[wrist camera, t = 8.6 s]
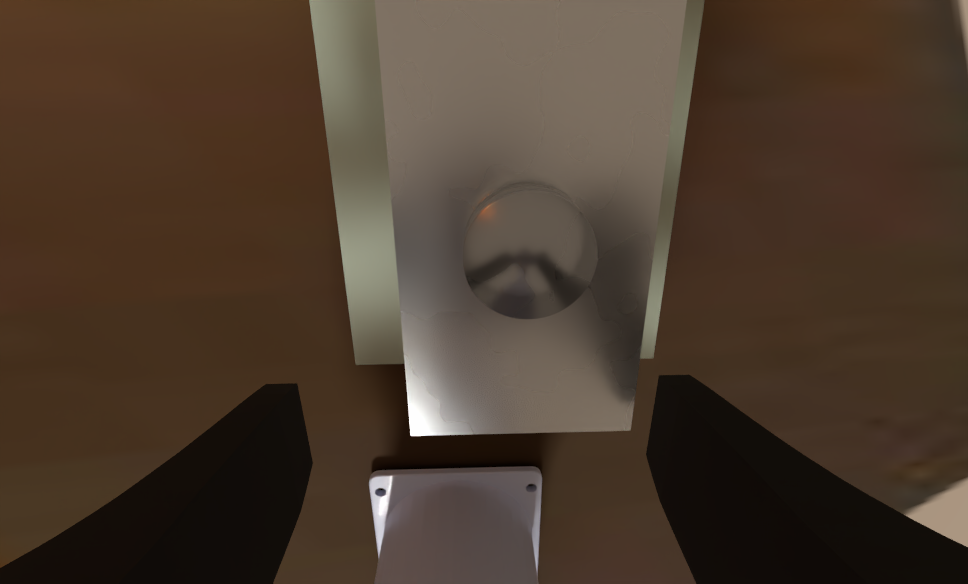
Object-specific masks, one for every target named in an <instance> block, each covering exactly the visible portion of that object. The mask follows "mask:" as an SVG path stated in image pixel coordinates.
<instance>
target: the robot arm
mask: <svg viewBox="0 0 968 584" xmlns="http://www.w3.org/2000/svg"><path fill="white" fill-rule="evenodd" d="M646 456H647V459H648V463H649V466H650V470H651V473H652V477H653V480H654V483H655V487H656V490H657V493H658V496H659V499H660V502H661V505H662V507H663V509H664V512H665V514H666V516H667V519H668V521H669V523H670V525H671V528H672V530H673V532H674V534H675V537H676V539H677V541H678V544H679V546H680V548H681V550H682V552H683V555H684V557H685V559H686V561H687V564H688V566H689V568H690V570H691V572H692V575H693V577H694V579H695V581H696V584H968V547H966V546H964V545H962V544H960V543H957V542H955V541H953V540H951V539H949V538H947V537H945V536H943V535H941V534H939V533H937V532H935V531H933V530H931V529H930V528H928V527H926V526H924V525H922V524H920V523H918V522H916V521H914V520H912V519H910V518H909V517H907V516H905V515H903V514H901V513H900V512H898V511H896V510H894V509H893V508H891V507H889V506H887V505H885V504H884V503H882V502H880V501H878V500H876V499H875V498H873V497H871V496H869V495H868V494H866V493H864V492H862V491H861V490H859V489H857V488H856V487H854V486H852V485H851V484H849V483H847V482H845V481H844V480H842V479H841V478H839V477H837V476H836V475H834V474H833V473H831V472H830V471H828V470H826V469H825V468H823V467H822V466H820V465H819V464H817V463H815V462H814V461H812V460H811V459H809V458H808V457H806V456H805V455H803V454H802V453H800V452H799V451H797V450H796V449H794V448H793V447H791V446H790V445H788V444H787V443H785V442H784V441H782V440H781V439H779V438H778V437H777V436H775V435H774V434H772V433H771V432H769V431H768V430H767V429H765V428H764V427H762V426H761V425H759V424H758V423H757V422H755V421H754V420H752V419H751V418H750V417H748V416H747V415H746V414H744V413H743V412H741V411H740V410H739V409H737V408H736V407H735V406H733V405H732V404H730V403H729V402H728V401H726V400H725V399H724V398H722V397H721V396H719V395H718V394H717V393H715V392H714V391H712V390H711V389H710V388H708V387H707V386H705V385H704V384H703V383H701V382H700V381H698V380H697V379H695V378H693V377H692V376H690V375H661V376H659V379H658V385H657V391H656V397H655V404H654V410H653V416H652V422H651V428H650V434H649V440H648V446H647V452H646ZM312 464H313V462H312V457H311V452H310V447H309V442H308V436H307V431H306V426H305V421H304V416H303V411H302V406H301V401H300V396H299V391H298V386H297V384H266V385H264V386H263V387H262V388H260V389H259V390H257V391H256V392H255V393H253V394H252V395H251V396H250V397H248V398H247V399H246V400H244V401H243V402H242V403H241V404H239V405H238V406H237V407H236V408H234V409H233V410H232V411H231V412H229V413H228V414H227V415H226V416H225V417H223V418H222V419H221V420H220V421H218V422H217V423H216V424H214V425H213V426H212V427H211V428H209V429H208V430H207V431H206V432H204V433H203V434H202V435H201V436H199V437H198V438H197V439H195V440H194V441H193V442H192V443H190V444H189V445H188V446H187V447H185V448H184V449H183V450H181V451H180V452H179V453H177V454H176V455H175V456H173V457H172V458H171V459H169V460H168V461H166V462H165V463H164V464H162V465H161V466H160V467H158V468H157V469H155V470H154V471H153V472H151V473H150V474H149V475H147V476H146V477H144V478H143V479H142V480H140V481H139V482H138V483H136V484H135V485H133V486H132V487H131V488H129V489H128V490H127V491H125V492H124V493H122V494H121V495H119V496H118V497H116V498H115V499H113V500H112V501H111V502H109V503H108V504H106V505H104V506H103V507H101V508H100V509H98V510H97V511H95V512H94V513H92V514H91V515H89V516H88V517H86V518H84V519H83V520H81V521H80V522H78V523H76V524H75V525H73V526H72V527H70V528H68V529H67V530H65V531H64V532H62V533H60V534H59V535H57V536H56V537H54V538H52V539H51V540H49V541H47V542H46V543H44V544H42V545H41V546H39V547H37V548H35V549H34V550H32V551H30V552H28V553H26V554H25V555H23V556H21V557H19V558H18V559H16V560H14V561H12V562H10V563H9V564H7V565H5V566H3V567H2V568H0V584H273V582H274V579H275V577H276V574H277V571H278V569H279V566H280V564H281V561H282V559H283V556H284V554H285V551H286V549H287V546H288V543H289V541H290V538H291V536H292V533H293V530H294V528H295V525H296V522H297V520H298V517H299V514H300V512H301V508H302V504H303V501H304V497H305V493H306V489H307V485H308V481H309V476H310V472H311V468H312ZM528 484H534V485H533V486H527V485H528ZM369 488H370V495H371V503H372V511H373V519H374V526H375V534H376V542H377V549H378V557H379V561H378V566H377V572H376V577H375V583H374V584H538V556H539V535H540V514H541V493H542V475H541V471H540V470H539V468H537V467H533V466H519V467H482V468H445V469H407V470H378V471H375V472H373V473H372V474H371V476H370V480H369ZM378 488H383V489H385V490H379V489H378Z"/></svg>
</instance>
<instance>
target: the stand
mask: <svg viewBox="0 0 968 584" xmlns="http://www.w3.org/2000/svg"><path fill="white" fill-rule="evenodd" d="M309 2H310V10H311V17H312V25H313V33H314V41H315V49H316V57H317V65H318V72H319V80H320V88H321V96H322V104H323V112H324V119H325V127H326V135H327V143H328V151H329V159H330V167H331V174H332V182H333V190H334V198H335V206H336V214H337V222H338V229H339V237H340V245H341V253H342V261H343V269H344V276H345V284H346V292H347V300H348V308H349V316H350V324H351V331H352V339H353V347H354V355H355V363H356V365H372V364H405V362H404V350H403V337H402V325H401V313H400V301H399V289H398V277H397V265H396V253H395V241H394V228H393V216H392V204H391V192H390V180H389V168H388V156H387V144H386V132H385V119H384V107H383V95H382V83H381V71H380V59H379V47H378V35H377V23H376V10H375V0H309ZM703 7H704V0H687V4H686V11H685V19H684V27H683V34H682V42H681V50H680V57H679V65H678V72H677V80H676V88H675V95H674V103H673V111H672V118H671V126H670V133H669V141H668V149H667V156H666V164H665V171H664V179H663V187H662V194H661V202H660V210H659V217H658V225H657V232H656V240H655V248H654V255H653V263H652V271H651V278H650V286H649V293H648V301H647V309H646V316H645V324H644V331H643V339H642V347H641V354H640V359H641V358H653V356H654V349H655V343H656V336H657V329H658V322H659V315H660V308H661V301H662V294H663V287H664V280H665V273H666V266H667V259H668V252H669V245H670V238H671V231H672V224H673V217H674V210H675V203H676V196H677V189H678V182H679V175H680V168H681V161H682V154H683V147H684V140H685V133H686V126H687V119H688V112H689V105H690V98H691V91H692V84H693V77H694V70H695V63H696V56H697V49H698V42H699V35H700V28H701V21H702V14H703Z"/></svg>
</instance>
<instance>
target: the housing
mask: <svg viewBox="0 0 968 584" xmlns="http://www.w3.org/2000/svg"><path fill="white" fill-rule="evenodd" d="M686 4H687V0H375V10H376V23H377V35H378V47H379V59H380V71H381V83H382V95H383V107H384V119H385V132H386V144H387V156H388V168H389V180H390V192H391V204H392V216H393V228H394V241H395V253H396V265H397V277H398V289H399V301H400V313H401V325H402V337H403V350H404V362H405V374H406V386H407V398H408V410H409V422H410V434H411V436H432V435H472V434H511V433H551V432H591V431H630V430H631V423H632V415H633V408H634V400H635V392H636V385H637V377H638V370H639V362H640V354H641V347H642V339H643V331H644V324H645V316H646V309H647V301H648V293H649V286H650V278H651V271H652V263H653V255H654V248H655V240H656V232H657V225H658V217H659V210H660V202H661V194H662V187H663V179H664V171H665V164H666V156H667V149H668V141H669V133H670V126H671V118H672V111H673V103H674V95H675V88H676V80H677V72H678V65H679V57H680V50H681V42H682V34H683V27H684V19H685V11H686Z"/></svg>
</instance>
